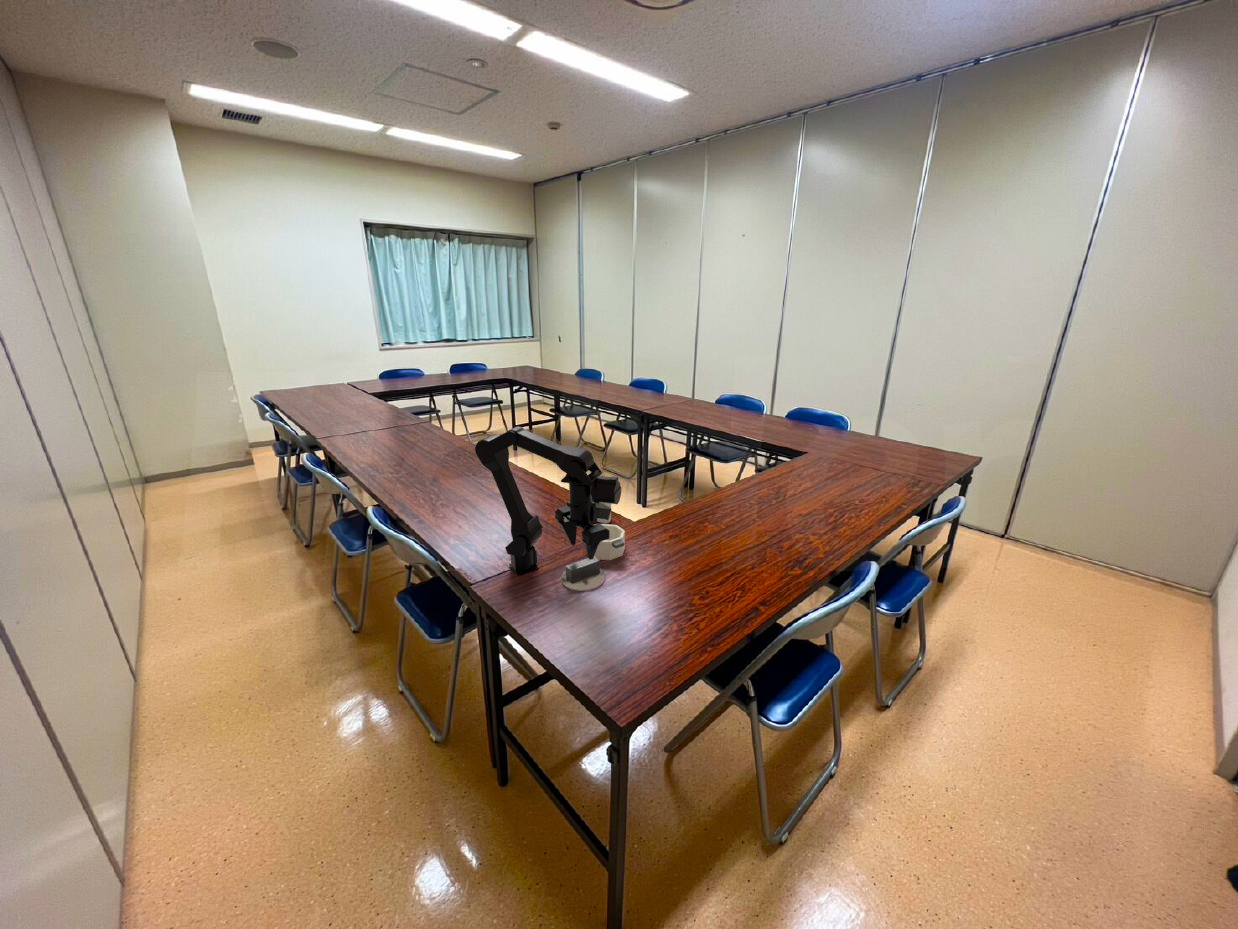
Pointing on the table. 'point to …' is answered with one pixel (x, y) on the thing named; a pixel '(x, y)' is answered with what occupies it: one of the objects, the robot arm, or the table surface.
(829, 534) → the table surface
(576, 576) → the cooker lid
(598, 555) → the cooker pot
